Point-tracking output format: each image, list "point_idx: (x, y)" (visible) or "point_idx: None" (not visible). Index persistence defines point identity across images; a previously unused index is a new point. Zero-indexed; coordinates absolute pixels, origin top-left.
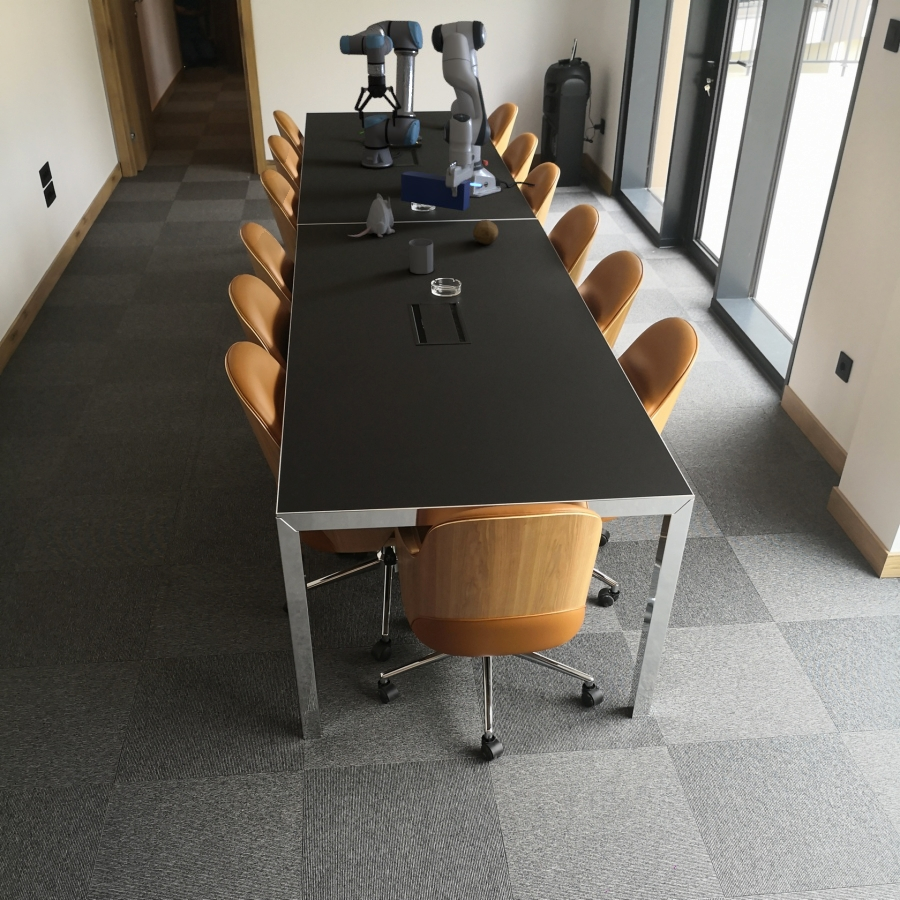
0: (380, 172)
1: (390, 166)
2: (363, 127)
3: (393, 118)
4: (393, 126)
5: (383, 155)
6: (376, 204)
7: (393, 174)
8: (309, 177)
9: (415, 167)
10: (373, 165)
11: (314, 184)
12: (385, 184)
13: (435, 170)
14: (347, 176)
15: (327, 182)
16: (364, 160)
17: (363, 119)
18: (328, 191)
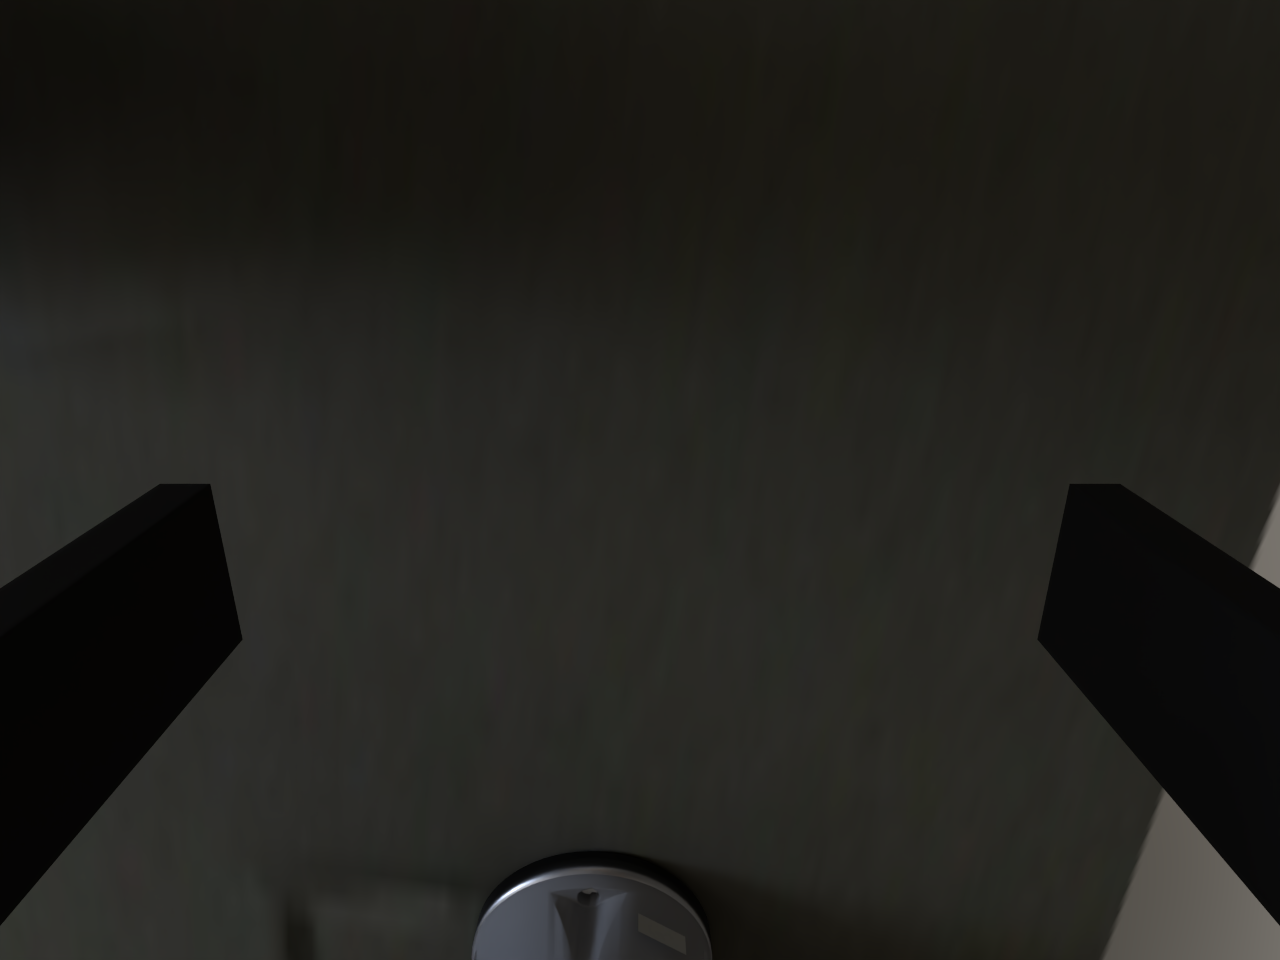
0: (590, 772)
1: (498, 885)
2: (1101, 491)
3: (46, 601)
4: (216, 518)
5: (540, 956)
6: None
7: (489, 707)
8: None
9: (304, 848)
10: (634, 877)
11: None
12: (584, 439)
13: None
14: (870, 713)
15: None
16: (698, 950)
17: (1252, 603)
18: (1144, 308)
